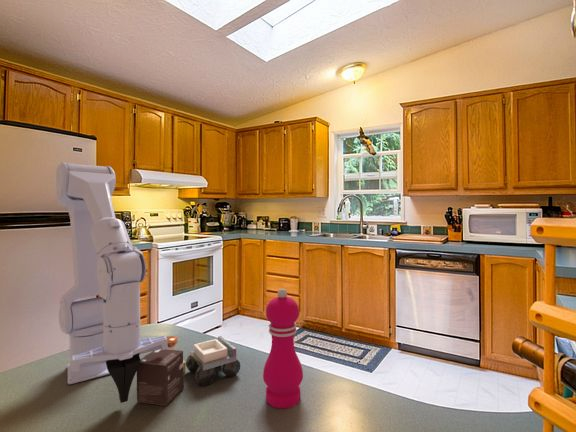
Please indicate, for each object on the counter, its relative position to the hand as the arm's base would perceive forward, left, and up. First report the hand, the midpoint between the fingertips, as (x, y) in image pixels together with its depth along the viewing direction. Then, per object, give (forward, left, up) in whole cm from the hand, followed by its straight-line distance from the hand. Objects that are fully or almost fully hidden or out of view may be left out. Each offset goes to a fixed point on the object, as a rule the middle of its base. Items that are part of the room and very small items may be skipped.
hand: (123, 399), depth 55 cm
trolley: (-2, +17, -1) cm, 17 cm away
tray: (-2, +17, +3) cm, 17 cm away
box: (0, +6, -2) cm, 6 cm away
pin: (-9, +10, -1) cm, 13 cm away
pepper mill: (+14, +24, -2) cm, 28 cm away
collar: (-9, +10, -1) cm, 13 cm away
